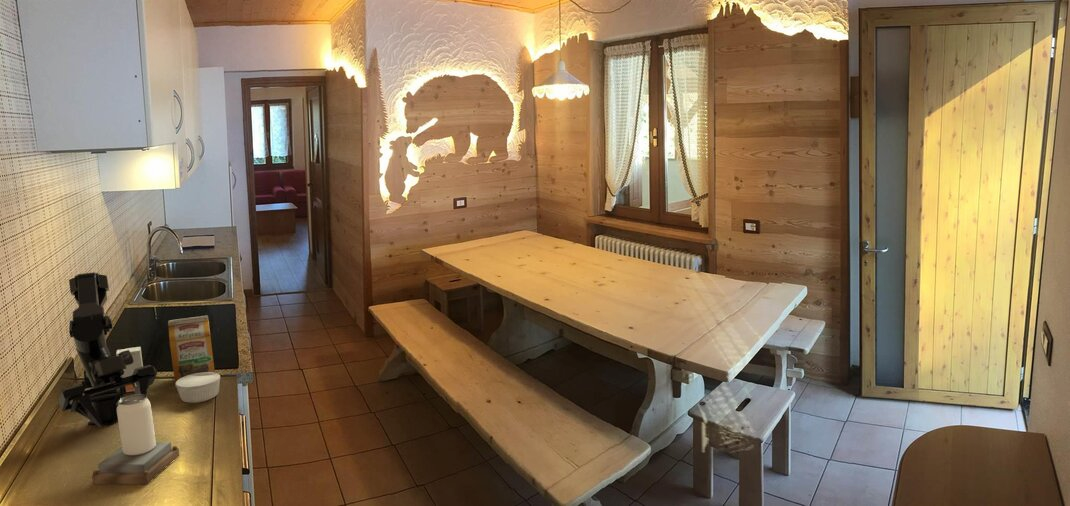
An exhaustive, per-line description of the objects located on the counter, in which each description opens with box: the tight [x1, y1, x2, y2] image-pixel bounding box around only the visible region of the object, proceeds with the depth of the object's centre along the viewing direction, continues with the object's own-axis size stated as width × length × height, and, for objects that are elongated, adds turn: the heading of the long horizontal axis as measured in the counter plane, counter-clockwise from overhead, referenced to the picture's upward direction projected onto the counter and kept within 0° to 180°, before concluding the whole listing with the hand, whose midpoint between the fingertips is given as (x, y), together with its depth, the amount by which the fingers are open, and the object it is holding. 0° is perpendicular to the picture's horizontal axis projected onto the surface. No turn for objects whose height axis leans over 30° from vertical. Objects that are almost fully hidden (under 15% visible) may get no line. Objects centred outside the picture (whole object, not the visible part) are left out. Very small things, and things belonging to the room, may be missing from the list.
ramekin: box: [175, 372, 221, 404], centre depth 188 cm, size 11×11×5 cm
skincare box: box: [115, 346, 144, 393], centre depth 193 cm, size 6×4×12 cm
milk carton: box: [167, 315, 216, 387], centre depth 200 cm, size 11×11×19 cm
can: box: [117, 393, 157, 456], centre depth 149 cm, size 6×6×12 cm
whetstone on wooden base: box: [91, 441, 180, 485], centre depth 149 cm, size 12×12×4 cm
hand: (124, 418), depth 149 cm, fingers open, 9 cm apart
